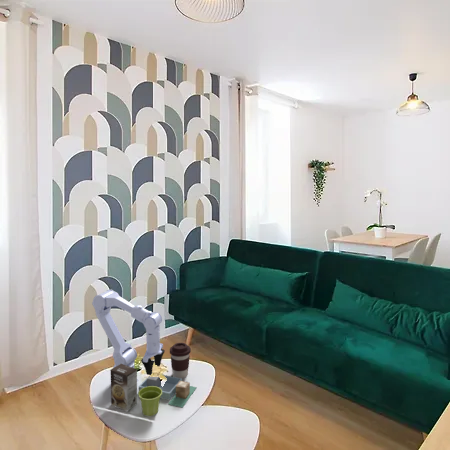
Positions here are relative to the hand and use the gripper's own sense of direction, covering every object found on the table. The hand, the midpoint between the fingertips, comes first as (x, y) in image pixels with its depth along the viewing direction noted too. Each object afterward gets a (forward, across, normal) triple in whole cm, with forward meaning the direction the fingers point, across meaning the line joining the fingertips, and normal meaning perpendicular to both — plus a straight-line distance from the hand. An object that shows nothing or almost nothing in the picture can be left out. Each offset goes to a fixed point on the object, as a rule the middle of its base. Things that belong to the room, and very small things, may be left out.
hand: (153, 370), depth 165 cm
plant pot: (+10, -14, -6) cm, 19 cm away
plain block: (+9, +1, 0) cm, 9 cm away
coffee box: (+10, -14, +6) cm, 18 cm away
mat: (+9, 0, -14) cm, 17 cm away
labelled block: (+9, 0, -14) cm, 17 cm away
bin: (+9, +1, -3) cm, 10 cm away
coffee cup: (+10, +15, -6) cm, 19 cm away
